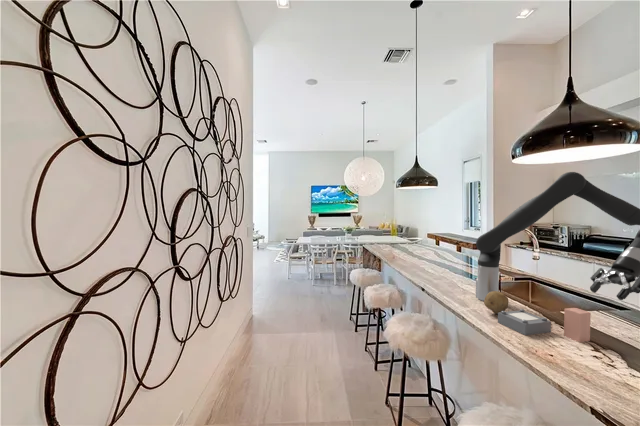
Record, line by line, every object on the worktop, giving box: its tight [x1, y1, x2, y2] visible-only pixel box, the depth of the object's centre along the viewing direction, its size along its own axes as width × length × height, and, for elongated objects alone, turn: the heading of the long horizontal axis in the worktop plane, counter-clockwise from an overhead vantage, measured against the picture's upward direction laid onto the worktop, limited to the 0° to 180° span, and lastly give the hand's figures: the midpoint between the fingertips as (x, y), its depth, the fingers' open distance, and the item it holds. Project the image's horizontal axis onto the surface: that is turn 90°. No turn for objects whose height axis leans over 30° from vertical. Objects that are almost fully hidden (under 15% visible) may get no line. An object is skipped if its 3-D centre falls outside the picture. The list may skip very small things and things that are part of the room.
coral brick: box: [563, 307, 592, 343], centre depth 103 cm, size 5×5×10 cm
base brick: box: [497, 308, 552, 336], centre depth 112 cm, size 12×12×5 cm
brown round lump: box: [483, 290, 510, 315], centre depth 126 cm, size 9×9×10 cm
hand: (605, 294), depth 104 cm, fingers open, 8 cm apart
